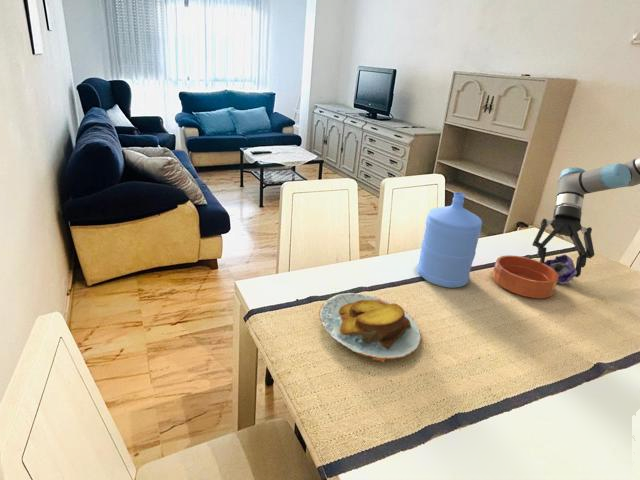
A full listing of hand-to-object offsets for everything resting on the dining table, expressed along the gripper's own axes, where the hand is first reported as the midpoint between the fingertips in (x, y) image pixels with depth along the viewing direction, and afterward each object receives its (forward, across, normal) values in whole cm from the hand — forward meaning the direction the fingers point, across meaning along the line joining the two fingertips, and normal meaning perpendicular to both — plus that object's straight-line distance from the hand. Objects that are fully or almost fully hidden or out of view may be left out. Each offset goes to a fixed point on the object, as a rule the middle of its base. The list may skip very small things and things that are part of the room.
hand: (559, 271), depth 123 cm
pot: (+9, +10, +3) cm, 13 cm away
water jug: (+15, +33, +9) cm, 37 cm away
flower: (+1, -1, -5) cm, 5 cm away
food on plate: (+43, +46, +36) cm, 72 cm away
